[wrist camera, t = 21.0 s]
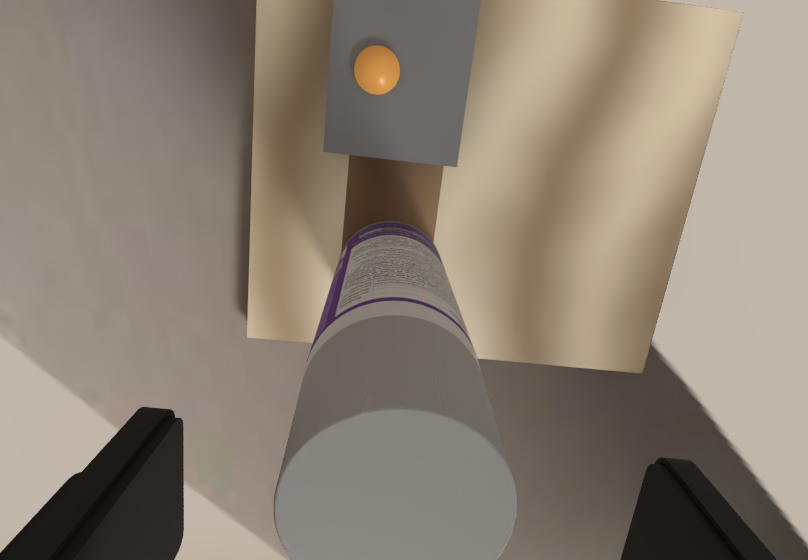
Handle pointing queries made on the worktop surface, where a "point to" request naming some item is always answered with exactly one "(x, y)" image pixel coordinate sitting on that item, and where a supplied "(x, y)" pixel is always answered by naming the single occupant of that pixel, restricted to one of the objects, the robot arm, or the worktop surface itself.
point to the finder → (399, 78)
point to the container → (393, 419)
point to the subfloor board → (502, 174)
